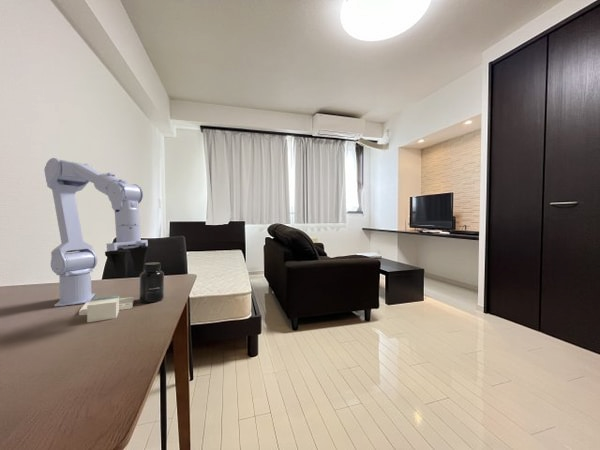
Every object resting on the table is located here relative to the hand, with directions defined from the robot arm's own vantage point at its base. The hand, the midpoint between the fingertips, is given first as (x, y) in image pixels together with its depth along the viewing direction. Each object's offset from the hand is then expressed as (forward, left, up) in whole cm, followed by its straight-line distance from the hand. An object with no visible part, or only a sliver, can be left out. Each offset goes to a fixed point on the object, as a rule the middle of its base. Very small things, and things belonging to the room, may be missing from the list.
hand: (131, 273), depth 72 cm
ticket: (-7, -6, -11) cm, 14 cm away
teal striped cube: (0, -6, -11) cm, 13 cm away
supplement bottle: (-9, +5, -11) cm, 15 cm away
